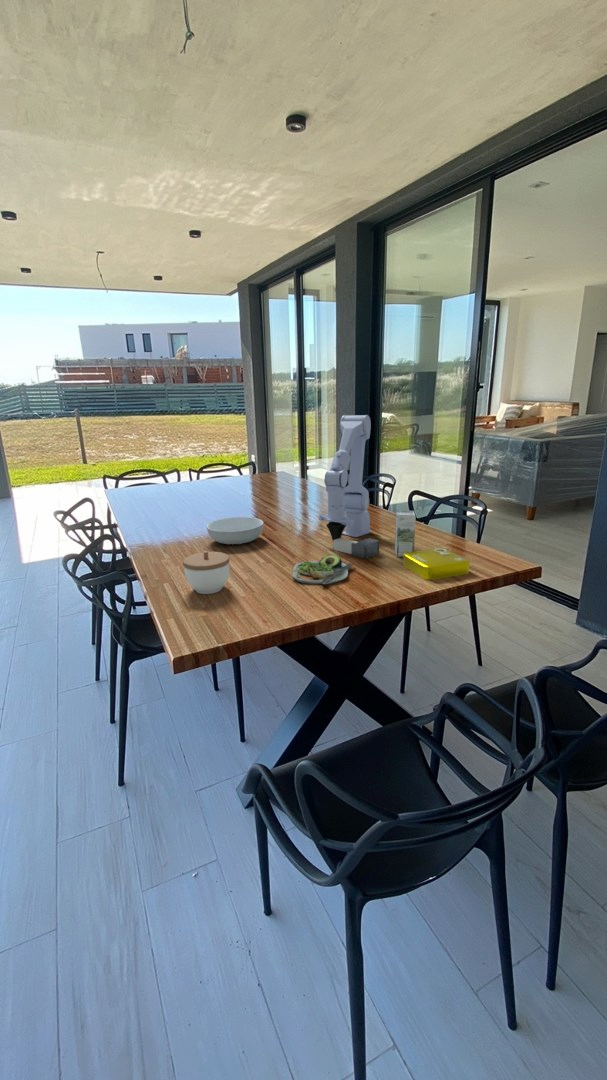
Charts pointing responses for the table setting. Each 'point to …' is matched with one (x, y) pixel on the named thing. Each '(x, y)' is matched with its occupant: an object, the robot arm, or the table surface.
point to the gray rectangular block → (343, 545)
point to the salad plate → (322, 570)
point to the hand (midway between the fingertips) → (336, 542)
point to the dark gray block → (365, 548)
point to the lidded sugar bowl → (207, 571)
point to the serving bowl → (235, 530)
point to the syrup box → (404, 532)
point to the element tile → (435, 563)
